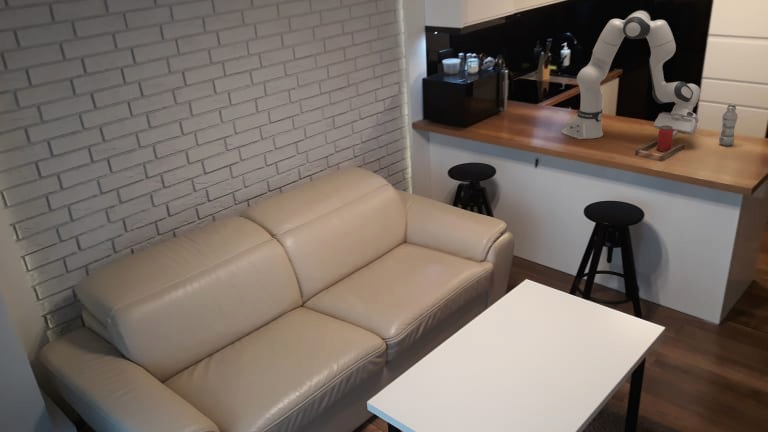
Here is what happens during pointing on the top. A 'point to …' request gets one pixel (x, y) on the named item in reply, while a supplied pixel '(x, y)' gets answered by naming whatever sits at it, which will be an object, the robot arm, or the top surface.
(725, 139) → the plastic bottle
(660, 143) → the beer can
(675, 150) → the walnut channel
